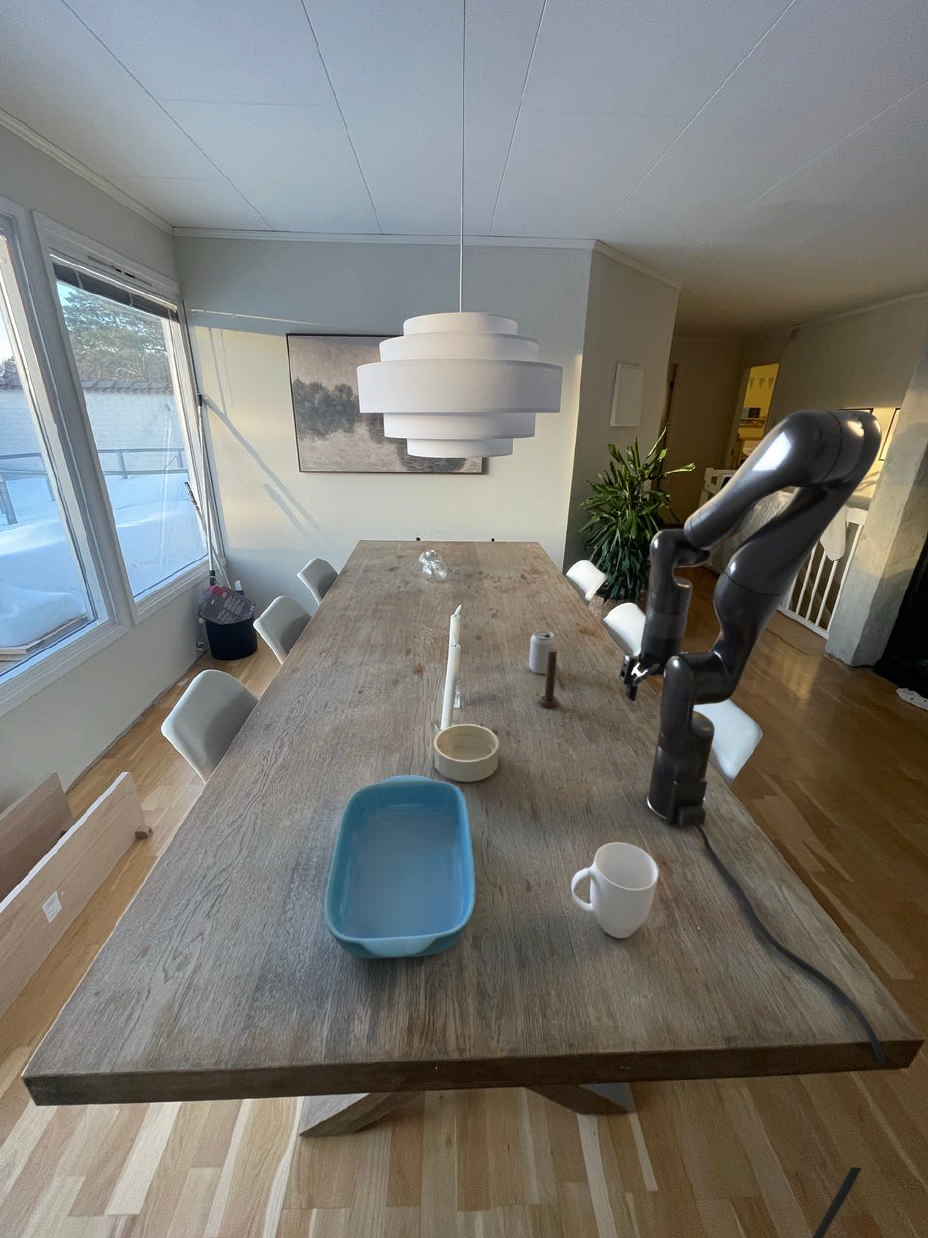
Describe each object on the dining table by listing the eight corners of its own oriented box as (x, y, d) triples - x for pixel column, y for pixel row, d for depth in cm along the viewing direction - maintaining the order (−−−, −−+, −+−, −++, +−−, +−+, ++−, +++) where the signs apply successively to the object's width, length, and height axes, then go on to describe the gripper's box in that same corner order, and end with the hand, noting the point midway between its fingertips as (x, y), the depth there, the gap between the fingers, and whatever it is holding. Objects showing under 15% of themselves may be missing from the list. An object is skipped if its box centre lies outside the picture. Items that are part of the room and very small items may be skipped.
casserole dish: (351, 804, 102) (349, 774, 99) (463, 799, 104) (464, 769, 101) (315, 998, 68) (309, 960, 65) (483, 986, 69) (484, 949, 67)
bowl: (504, 780, 109) (505, 758, 107) (438, 786, 107) (437, 764, 105) (491, 741, 122) (491, 721, 120) (431, 746, 120) (431, 726, 118)
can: (553, 676, 154) (555, 639, 149) (527, 674, 155) (530, 637, 151) (554, 665, 160) (556, 630, 156) (529, 663, 162) (532, 628, 157)
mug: (638, 900, 82) (648, 841, 78) (655, 953, 74) (667, 891, 69) (564, 897, 82) (570, 839, 78) (573, 950, 74) (580, 888, 70)
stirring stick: (558, 707, 137) (563, 653, 131) (543, 708, 136) (547, 654, 131) (553, 699, 141) (558, 646, 135) (538, 700, 140) (541, 647, 135)
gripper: (638, 639, 97) (625, 711, 103) (708, 635, 99) (691, 705, 105) (621, 622, 103) (610, 690, 110) (687, 618, 105) (672, 686, 112)
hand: (650, 698), depth 108 cm, fingers open, 8 cm apart
